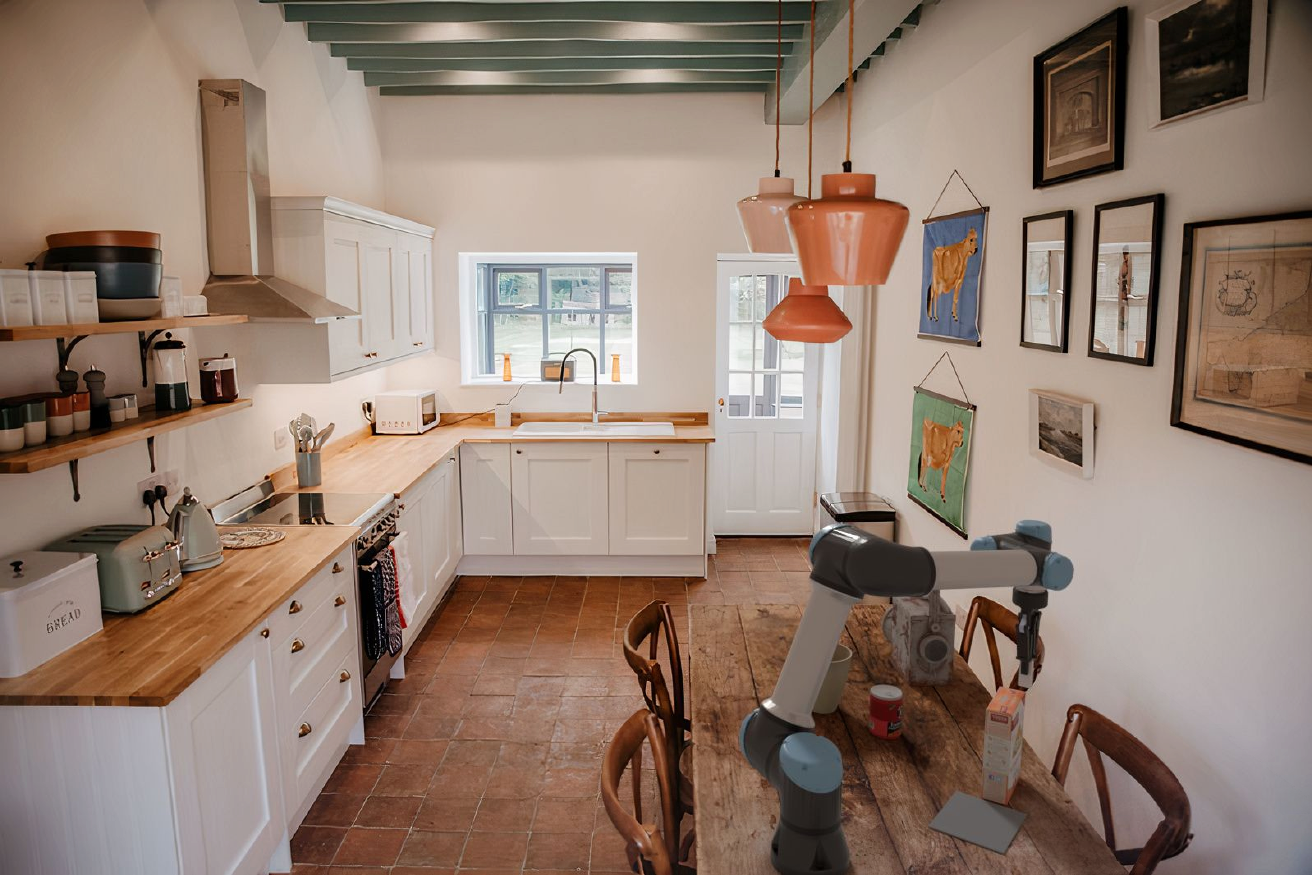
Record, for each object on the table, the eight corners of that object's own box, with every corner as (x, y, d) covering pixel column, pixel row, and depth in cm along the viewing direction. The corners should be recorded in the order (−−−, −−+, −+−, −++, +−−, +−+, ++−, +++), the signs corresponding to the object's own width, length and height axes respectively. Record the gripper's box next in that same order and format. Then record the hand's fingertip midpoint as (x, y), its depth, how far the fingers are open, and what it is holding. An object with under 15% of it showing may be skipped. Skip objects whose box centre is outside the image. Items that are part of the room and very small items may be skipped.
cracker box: (1009, 807, 187) (1013, 715, 184) (979, 799, 190) (984, 708, 187) (1022, 777, 199) (1027, 690, 195) (994, 770, 202) (998, 684, 199)
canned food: (892, 743, 215) (893, 700, 213) (863, 732, 220) (864, 691, 219) (907, 731, 220) (908, 690, 219) (878, 722, 226) (879, 681, 224)
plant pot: (852, 722, 226) (853, 663, 223) (793, 718, 228) (794, 660, 226) (849, 697, 240) (850, 641, 238) (794, 693, 243) (795, 638, 240)
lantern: (928, 651, 271) (931, 557, 266) (961, 689, 244) (965, 585, 240) (877, 652, 270) (880, 558, 266) (905, 691, 244) (908, 587, 239)
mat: (1003, 854, 171) (1003, 852, 171) (928, 827, 180) (928, 825, 180) (1027, 815, 184) (1027, 814, 184) (956, 791, 193) (956, 790, 193)
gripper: (1040, 598, 193) (1034, 700, 196) (1055, 583, 203) (1049, 680, 206) (1005, 592, 197) (1000, 691, 201) (1021, 577, 208) (1016, 672, 211)
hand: (1025, 685), depth 204 cm, fingers closed
